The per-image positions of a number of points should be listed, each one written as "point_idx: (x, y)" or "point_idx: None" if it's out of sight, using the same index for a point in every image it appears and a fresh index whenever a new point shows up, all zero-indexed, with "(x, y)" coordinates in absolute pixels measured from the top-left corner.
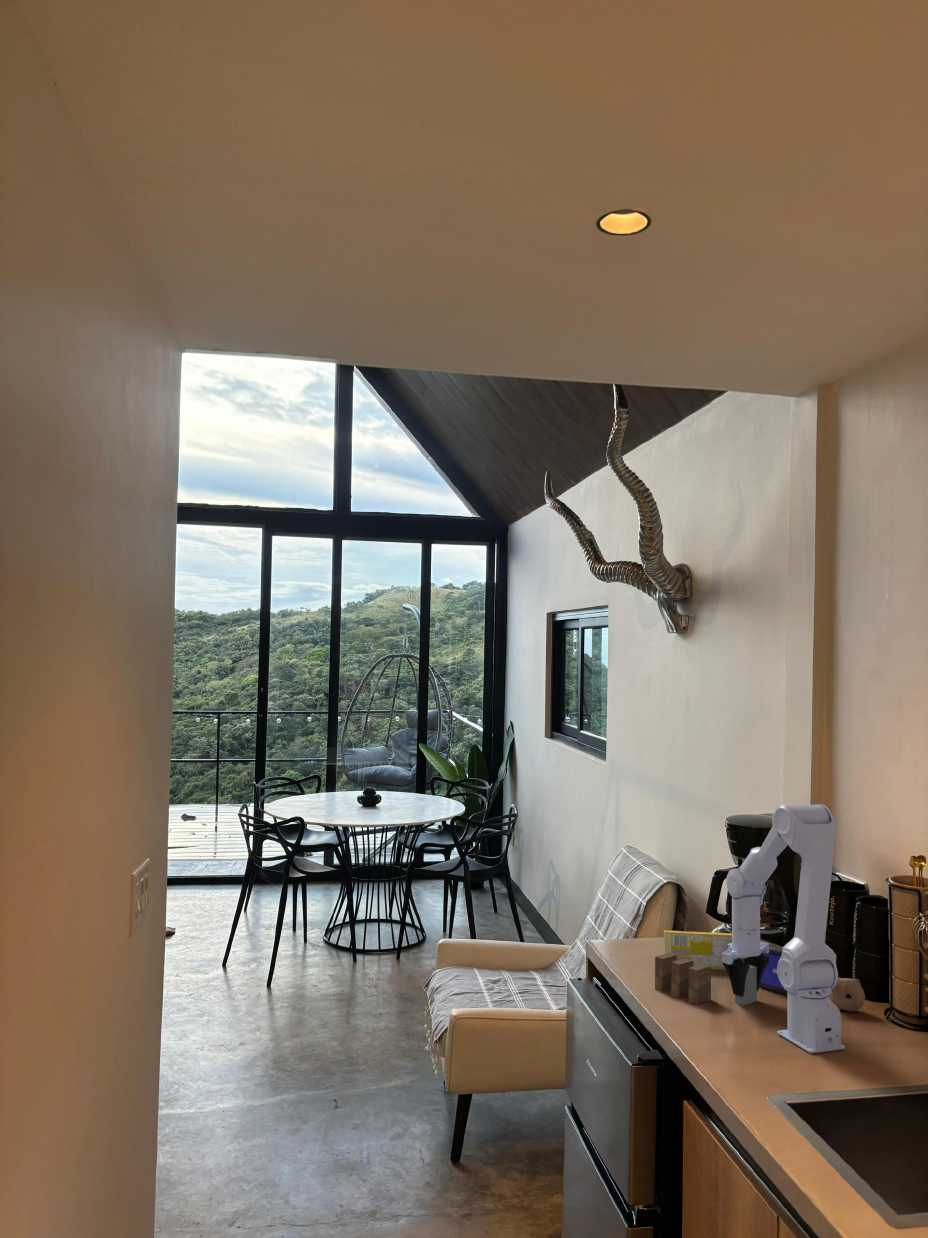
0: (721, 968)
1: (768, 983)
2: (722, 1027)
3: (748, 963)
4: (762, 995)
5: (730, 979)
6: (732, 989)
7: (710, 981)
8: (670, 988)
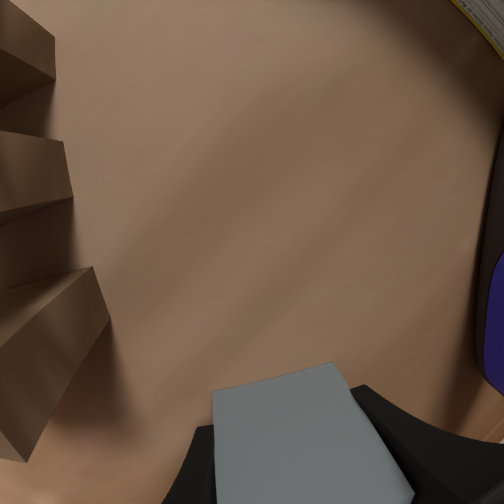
0: (473, 18)
1: (490, 318)
2: (45, 476)
3: (425, 494)
4: (414, 343)
5: (174, 490)
6: (191, 444)
7: (67, 379)
8: (8, 102)
